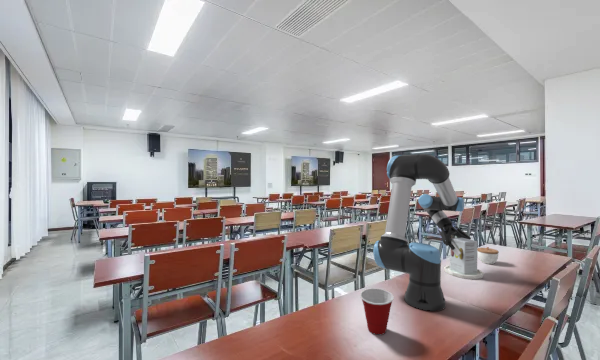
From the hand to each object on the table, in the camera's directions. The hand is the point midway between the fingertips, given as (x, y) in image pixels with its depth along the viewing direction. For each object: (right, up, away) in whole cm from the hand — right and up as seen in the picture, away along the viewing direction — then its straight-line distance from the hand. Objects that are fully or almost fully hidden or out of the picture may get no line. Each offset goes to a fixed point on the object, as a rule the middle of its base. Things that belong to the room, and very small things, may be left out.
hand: (467, 253), depth 145 cm
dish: (-1, -11, +2) cm, 11 cm away
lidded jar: (+25, -11, +21) cm, 34 cm away
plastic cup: (-63, -11, -54) cm, 84 cm away
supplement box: (-1, -10, +2) cm, 11 cm away
